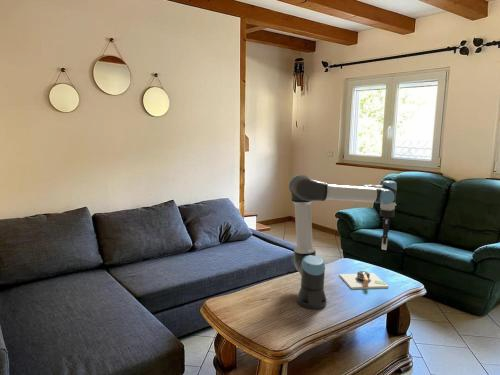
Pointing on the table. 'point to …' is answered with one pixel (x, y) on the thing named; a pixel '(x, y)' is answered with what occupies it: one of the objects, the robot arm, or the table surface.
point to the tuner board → (357, 284)
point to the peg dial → (363, 277)
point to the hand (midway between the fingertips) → (384, 246)
